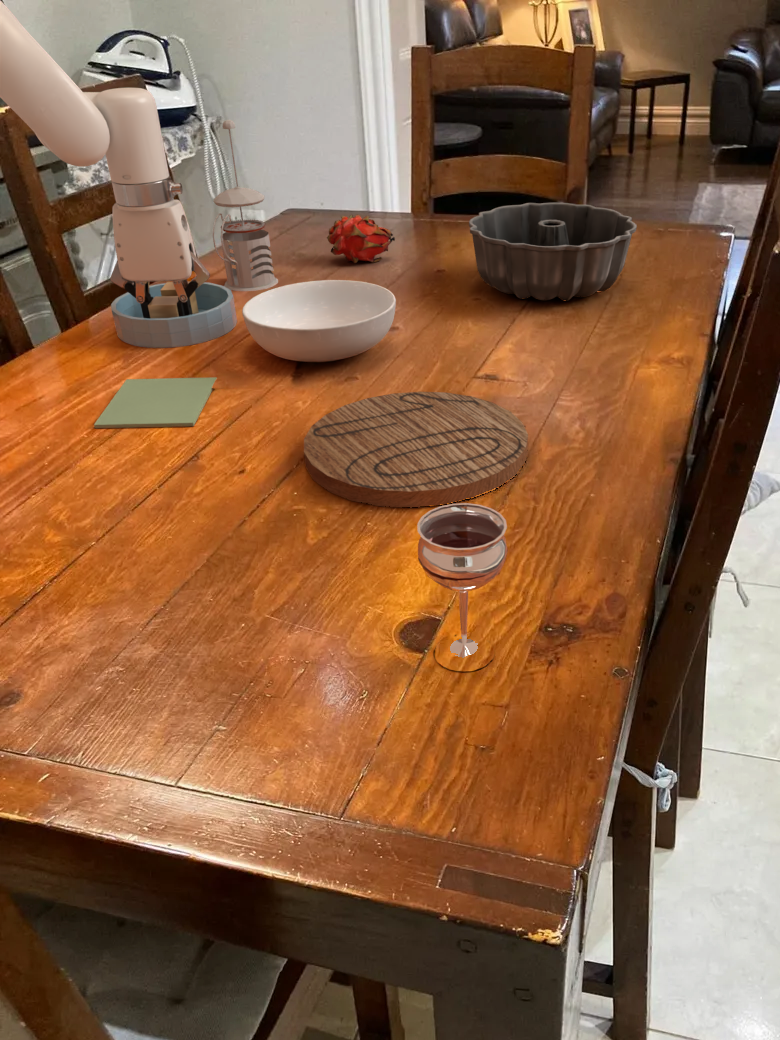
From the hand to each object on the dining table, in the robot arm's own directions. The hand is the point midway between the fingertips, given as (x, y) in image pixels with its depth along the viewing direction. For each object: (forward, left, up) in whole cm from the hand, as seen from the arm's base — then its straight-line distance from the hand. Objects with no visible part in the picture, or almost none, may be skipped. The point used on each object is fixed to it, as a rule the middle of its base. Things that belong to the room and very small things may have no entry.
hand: (170, 325), depth 136 cm
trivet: (+37, -38, -2) cm, 53 cm away
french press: (+7, +24, -2) cm, 25 cm away
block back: (0, +7, -1) cm, 7 cm away
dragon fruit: (+25, +38, -2) cm, 45 cm away
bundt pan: (+57, +21, -2) cm, 61 cm away
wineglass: (+42, -74, -2) cm, 86 cm away
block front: (0, 0, -1) cm, 1 cm away
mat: (+4, -23, -2) cm, 24 cm away
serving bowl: (+23, -6, -2) cm, 24 cm away
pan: (0, +4, -2) cm, 4 cm away
